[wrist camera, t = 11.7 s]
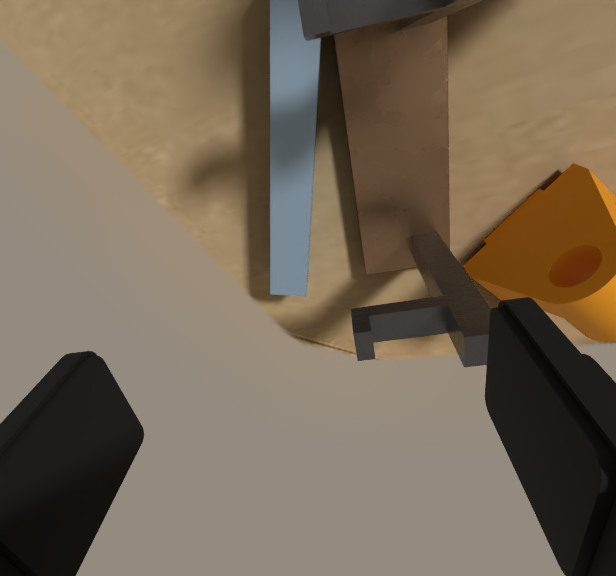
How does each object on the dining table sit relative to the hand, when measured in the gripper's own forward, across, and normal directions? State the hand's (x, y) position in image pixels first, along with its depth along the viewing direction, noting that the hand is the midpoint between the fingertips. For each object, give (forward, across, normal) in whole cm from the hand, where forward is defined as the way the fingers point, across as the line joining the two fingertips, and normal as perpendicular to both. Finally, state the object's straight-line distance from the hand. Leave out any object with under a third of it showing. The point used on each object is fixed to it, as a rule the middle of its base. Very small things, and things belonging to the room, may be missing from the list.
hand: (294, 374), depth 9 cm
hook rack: (+24, -5, 0) cm, 24 cm away
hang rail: (+24, +2, -1) cm, 24 cm away
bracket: (+24, -17, +10) cm, 31 cm away
